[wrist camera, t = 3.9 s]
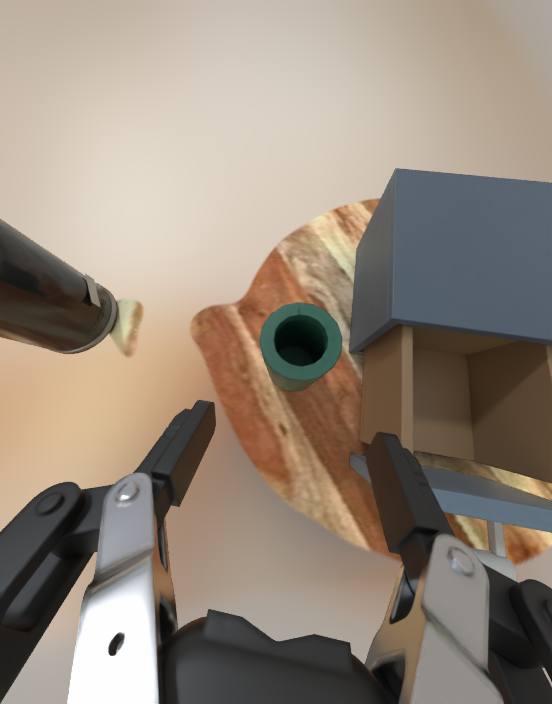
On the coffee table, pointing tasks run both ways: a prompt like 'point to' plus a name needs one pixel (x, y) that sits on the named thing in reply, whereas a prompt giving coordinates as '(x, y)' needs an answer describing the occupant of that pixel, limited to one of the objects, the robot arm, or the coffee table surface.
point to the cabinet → (456, 258)
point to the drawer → (466, 420)
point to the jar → (299, 345)
